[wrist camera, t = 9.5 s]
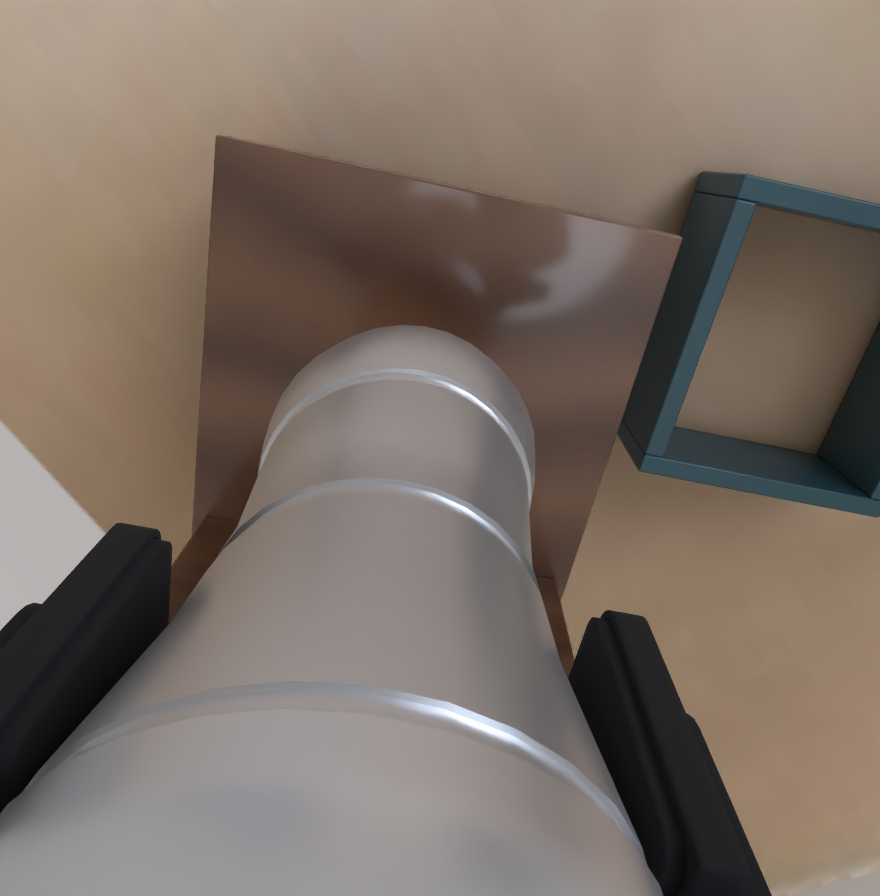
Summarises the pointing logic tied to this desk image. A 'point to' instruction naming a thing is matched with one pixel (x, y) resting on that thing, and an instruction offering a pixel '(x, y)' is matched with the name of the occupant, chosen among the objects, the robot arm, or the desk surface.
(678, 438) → the rectangular frame
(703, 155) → the desk surface
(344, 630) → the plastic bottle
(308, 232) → the chair
